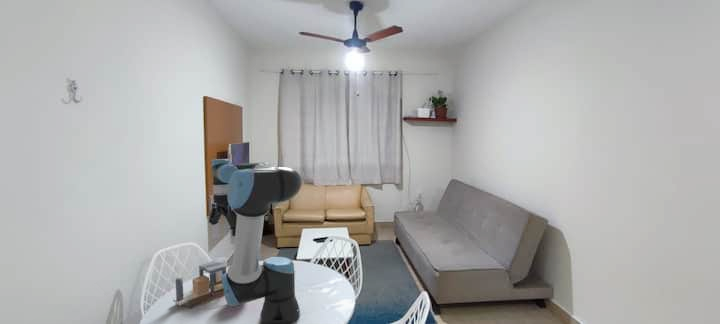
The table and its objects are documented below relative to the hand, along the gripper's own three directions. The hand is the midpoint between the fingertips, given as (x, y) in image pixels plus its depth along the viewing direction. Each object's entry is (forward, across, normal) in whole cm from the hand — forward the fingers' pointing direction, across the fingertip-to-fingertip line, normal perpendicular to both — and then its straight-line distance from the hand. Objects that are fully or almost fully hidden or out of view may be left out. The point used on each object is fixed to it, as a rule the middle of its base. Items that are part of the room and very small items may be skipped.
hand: (224, 240), depth 142 cm
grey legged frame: (+25, +8, +4) cm, 27 cm away
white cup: (+25, +19, -8) cm, 33 cm away
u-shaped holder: (+23, +8, +11) cm, 27 cm away
